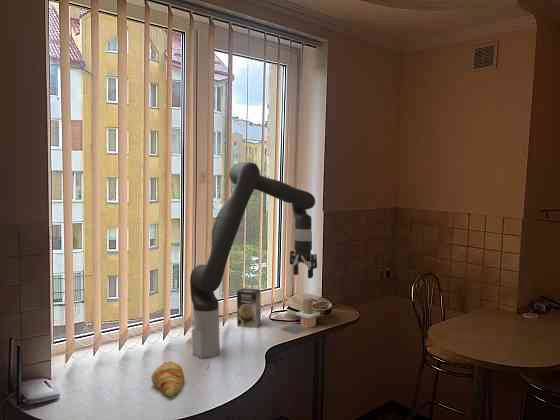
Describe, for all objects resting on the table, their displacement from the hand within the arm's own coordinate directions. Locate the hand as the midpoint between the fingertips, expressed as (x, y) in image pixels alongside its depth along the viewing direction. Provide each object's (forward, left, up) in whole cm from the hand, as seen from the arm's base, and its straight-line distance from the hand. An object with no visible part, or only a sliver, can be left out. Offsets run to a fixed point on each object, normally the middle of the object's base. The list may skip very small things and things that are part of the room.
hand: (303, 276), depth 202 cm
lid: (+2, -1, -17) cm, 17 cm away
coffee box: (-16, +17, -23) cm, 33 cm away
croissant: (-70, -7, -23) cm, 74 cm away
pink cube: (+2, -1, -22) cm, 22 cm away
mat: (-6, -1, -22) cm, 23 cm away
